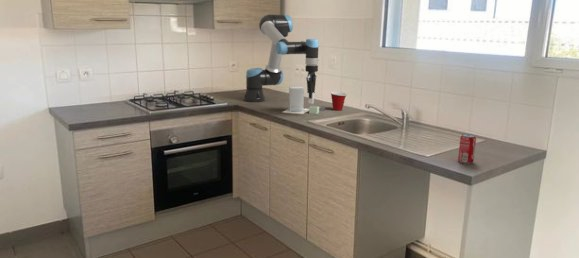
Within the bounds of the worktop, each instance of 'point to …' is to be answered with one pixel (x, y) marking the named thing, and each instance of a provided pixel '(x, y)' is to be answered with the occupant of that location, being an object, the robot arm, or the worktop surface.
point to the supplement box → (296, 98)
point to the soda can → (467, 148)
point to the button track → (321, 109)
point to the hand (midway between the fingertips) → (310, 103)
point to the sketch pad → (296, 111)
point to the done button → (314, 109)
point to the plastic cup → (338, 100)
